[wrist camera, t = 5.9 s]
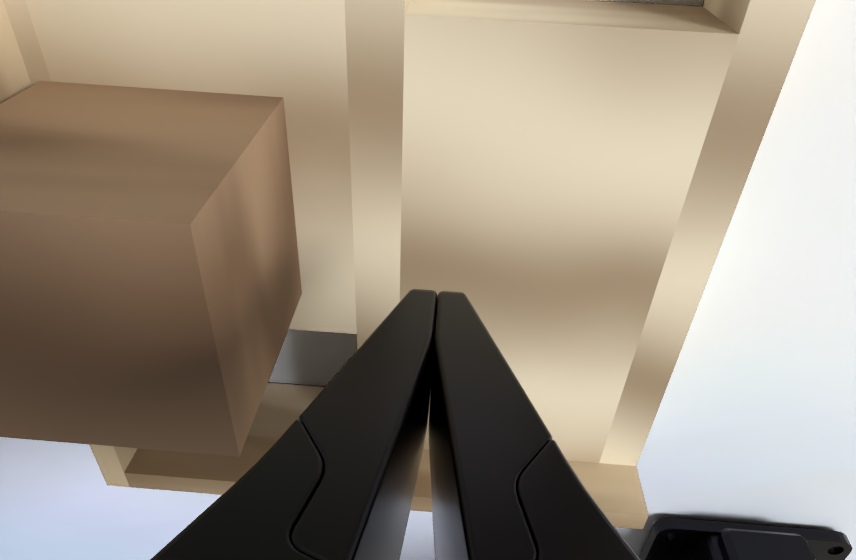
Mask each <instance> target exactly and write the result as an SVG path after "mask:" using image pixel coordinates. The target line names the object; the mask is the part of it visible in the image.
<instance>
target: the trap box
mask: <svg viewBox="0 0 856 560" xmlns="http://www.w3.org/2000/svg"><path fill="white" fill-rule="evenodd" d="M815 1H816V0H705V1H704V5H703V7H701V6H684V5H667V4H649V3H632V2H615V1H598V0H0V104H1V103H3V102H5V101H6V100H8V99H10V98H12V97H14V96H15V95H17V94H19V93H21V92H22V91H24V90H26V89H28V88H29V87H31V86H33V85H35V84H36V83H38V82H40V81H51V82H66V83H81V84H95V85H110V86H124V87H139V88H153V89H168V90H183V91H197V92H212V93H226V94H241V95H255V96H270V97H283V99H284V109H285V120H286V130H287V141H288V151H289V162H290V172H291V183H292V193H293V204H294V214H295V225H296V235H297V246H298V256H299V267H300V277H301V288H302V295H301V297H300V300H299V302H298V305H297V308H296V310H295V313H294V316H293V318H292V321H291V323H290V326H289V329H294V330H307V331H321V332H334V333H348V334H357V350H358V349H359V348H360V347H361V345H362V344H363V343H364V342H365V341H366V340H367V339H368V337H369V336H370V335H371V334H372V333H373V332H374V331H375V329H376V328H377V327H378V326H379V325H380V324H381V323H382V321H383V320H384V319H385V318H386V317H387V316H388V315H389V313H390V312H391V311H392V310H393V309H394V308H395V307H396V306H397V304H398V303H399V302H400V301H401V300H402V299H403V298H404V296H405V295H406V294H407V293H408V292H409V291H410V290H412V289H424V290H434V291H436V293H437V296H438V293H439V292H440V291H452V292H462V293H464V294H465V295H466V296H467V298H468V299H469V301H470V302H471V304H472V306H473V307H474V309H475V311H476V312H477V314H478V316H479V317H480V319H481V321H482V322H483V324H484V325H485V327H486V329H487V330H488V332H489V334H490V335H491V337H492V339H493V340H494V342H495V343H496V345H497V347H498V348H499V350H500V352H501V353H502V355H503V357H504V358H505V360H506V361H507V363H508V365H509V366H510V368H511V370H512V371H513V373H514V375H515V376H516V378H517V380H518V381H519V383H520V384H521V386H522V388H523V389H524V391H525V393H526V394H527V396H528V398H529V399H530V401H531V402H532V404H533V406H534V407H535V409H536V411H537V412H538V414H539V416H540V417H541V419H542V420H543V422H544V424H545V425H546V427H547V429H548V430H549V432H550V434H551V435H552V440H555V441H556V443H557V445H558V446H559V448H560V450H561V451H562V453H563V455H564V456H565V458H566V460H567V461H568V463H569V464H570V466H571V467H572V469H573V470H574V472H575V473H576V475H577V476H578V478H579V479H580V481H581V482H582V484H583V485H584V487H585V488H586V490H587V491H588V493H589V494H590V495H591V497H592V498H593V499H594V501H595V502H596V503H597V505H598V506H599V507H600V509H601V510H602V511H603V513H604V514H605V515H606V517H607V518H608V519H609V521H610V522H611V523H612V524H613V526H614V527H621V528H633V529H643V528H644V525H645V523H646V521H647V519H648V516H649V515H648V511H647V507H646V503H645V499H644V495H643V491H642V487H641V483H640V479H639V475H638V471H637V467H636V465H637V463H638V460H639V458H640V455H641V452H642V450H643V447H644V445H645V442H646V439H647V437H648V434H649V432H650V429H651V426H652V424H653V421H654V419H655V416H656V413H657V411H658V408H659V406H660V403H661V400H662V398H663V395H664V393H665V390H666V387H667V385H668V382H669V380H670V377H671V374H672V372H673V369H674V367H675V364H676V361H677V359H678V356H679V354H680V351H681V349H682V346H683V343H684V341H685V338H686V336H687V333H688V330H689V328H690V325H691V323H692V320H693V317H694V315H695V312H696V310H697V307H698V304H699V302H700V299H701V297H702V294H703V291H704V289H705V286H706V284H707V281H708V278H709V276H710V273H711V271H712V268H713V265H714V263H715V260H716V258H717V255H718V252H719V250H720V247H721V245H722V242H723V239H724V237H725V234H726V232H727V229H728V226H729V224H730V221H731V219H732V216H733V214H734V211H735V208H736V206H737V203H738V201H739V198H740V195H741V193H742V190H743V188H744V185H745V182H746V180H747V177H748V175H749V172H750V169H751V167H752V164H753V162H754V159H755V156H756V154H757V151H758V149H759V146H760V143H761V141H762V138H763V136H764V133H765V130H766V128H767V125H768V123H769V120H770V117H771V115H772V112H773V110H774V107H775V104H776V102H777V99H778V97H779V94H780V92H781V89H782V86H783V84H784V81H785V79H786V76H787V73H788V71H789V68H790V66H791V63H792V60H793V58H794V55H795V53H796V50H797V47H798V45H799V42H800V40H801V37H802V34H803V32H804V29H805V27H806V24H807V21H808V19H809V16H810V14H811V11H812V8H813V6H814V3H815ZM323 389H324V387H317V386H304V385H291V384H278V383H268V384H267V386H266V389H265V392H264V394H263V397H262V399H261V402H260V405H259V407H258V410H257V412H256V415H255V418H254V420H253V423H252V426H251V428H250V431H249V433H248V436H247V439H246V441H245V444H244V447H243V449H242V452H241V454H240V457H235V456H224V455H212V454H200V453H188V452H176V451H164V450H152V449H140V448H128V447H116V446H104V445H92V444H89V445H90V447H91V449H92V452H93V454H94V456H95V458H96V461H97V463H98V465H99V467H100V470H101V472H102V474H103V476H104V479H105V481H106V483H107V485H112V486H124V487H136V488H148V489H160V490H172V491H185V492H197V493H209V494H221V495H223V494H224V493H225V492H226V491H227V490H228V489H229V488H230V487H232V486H233V485H234V484H235V483H236V482H237V481H238V480H239V479H240V478H241V477H242V476H243V475H244V474H245V473H246V472H247V471H248V470H249V469H251V468H252V467H253V466H254V465H255V464H256V463H257V462H258V461H259V460H260V459H261V458H262V457H263V455H264V454H265V453H266V452H267V451H268V450H269V449H270V448H271V447H272V446H273V445H274V444H275V443H276V442H277V441H278V439H279V438H280V437H281V436H282V435H283V434H284V433H285V432H286V430H287V429H288V428H289V427H290V426H291V425H292V424H293V422H294V421H295V420H299V416H300V415H301V414H302V413H303V411H304V410H305V409H306V408H307V407H308V406H309V405H310V403H311V402H312V401H313V400H314V399H315V398H316V397H317V395H318V394H319V393H320V392H321V391H322V390H323ZM429 407H430V404H429ZM428 426H429V416H428V425H427V432H426V437H425V443H424V447H423V452H422V457H421V461H420V466H419V471H418V475H417V480H416V485H415V489H414V494H413V499H412V503H411V508H410V510H415V511H427V512H432V494H431V475H430V457H429V432H428Z"/></svg>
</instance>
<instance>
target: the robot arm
mask: <svg viewBox="0 0 856 560" xmlns="http://www.w3.org/2000/svg"><path fill="white" fill-rule="evenodd" d="M429 404H430V407H429ZM428 416H429V426H428V432H429V457H430V475H431V494H432V512H433V530H434V549H435V560H845V558H846V557H847V556H848V555H849V554H850V552H851V550H852V547H851V544H850V543H849V541H848V539H847V537H846V535H845V534H844V533H842V532H837V531H826V530H814V529H802V528H790V527H777V526H765V525H753V524H741V523H729V522H716V521H704V520H692V519H680V518H664V519H661V520H659V521H657V522H656V523H655V524H654V525H653V527H652V530H651V532H650V534H649V536H648V538H647V541H646V543H645V545H644V547H643V549H642V552H641V554H640V556H639V557H638V556H637V555H636V554H635V552H634V551H633V550H632V549H631V547H630V546H629V545H628V543H627V542H626V541H625V540H624V538H623V537H622V536H621V535H620V533H619V532H618V531H617V530H616V528H615V527H614V526H613V524H612V523H611V522H610V521H609V519H608V518H607V517H606V515H605V514H604V513H603V511H602V510H601V509H600V507H599V506H598V505H597V503H596V502H595V501H594V499H593V498H592V497H591V495H590V494H589V493H588V491H587V490H586V488H585V487H584V485H583V484H582V482H581V481H580V479H579V478H578V476H577V475H576V473H575V472H574V470H573V469H572V467H571V466H570V464H569V463H568V461H567V460H566V458H565V456H564V455H563V453H562V451H561V450H560V448H559V446H558V445H557V443H556V441H555V440H552V435H551V434H550V432H549V430H548V429H547V427H546V425H545V424H544V422H543V420H542V419H541V417H540V416H539V414H538V412H537V411H536V409H535V407H534V406H533V404H532V402H531V401H530V399H529V398H528V396H527V394H526V393H525V391H524V389H523V388H522V386H521V384H520V383H519V381H518V380H517V378H516V376H515V375H514V373H513V371H512V370H511V368H510V366H509V365H508V363H507V361H506V360H505V358H504V357H503V355H502V353H501V352H500V350H499V348H498V347H497V345H496V343H495V342H494V340H493V339H492V337H491V335H490V334H489V332H488V330H487V329H486V327H485V325H484V324H483V322H482V321H481V319H480V317H479V316H478V314H477V312H476V311H475V309H474V307H473V306H472V304H471V302H470V301H469V299H468V298H467V296H466V295H465V294H464V293H462V292H452V291H440V292H439V293H438V296H437V293H436V291H434V290H424V289H412V290H410V291H409V292H408V293H407V294H406V295H405V296H404V298H403V299H402V300H401V301H400V302H399V303H398V304H397V306H396V307H395V308H394V309H393V310H392V311H391V312H390V313H389V315H388V316H387V317H386V318H385V319H384V320H383V321H382V323H381V324H380V325H379V326H378V327H377V328H376V329H375V331H374V332H373V333H372V334H371V335H370V336H369V337H368V339H367V340H366V341H365V342H364V343H363V344H362V345H361V347H360V348H359V349H358V350H357V351H356V352H355V353H354V354H353V356H352V357H351V358H350V359H349V360H348V361H347V362H346V364H345V365H344V366H343V367H342V368H341V369H340V370H339V372H338V373H337V374H336V375H335V376H334V377H333V378H332V380H331V381H330V382H329V383H328V384H327V385H326V386H325V387H324V389H323V390H322V391H321V392H320V393H319V394H318V395H317V397H316V398H315V399H314V400H313V401H312V402H311V403H310V405H309V406H308V407H307V408H306V409H305V410H304V411H303V413H302V414H301V415H300V416H299V420H295V421H294V422H293V424H292V425H291V426H290V427H289V428H288V429H287V430H286V432H285V433H284V434H283V435H282V436H281V437H280V438H279V439H278V441H277V442H276V443H275V444H274V445H273V446H272V447H271V448H270V449H269V450H268V451H267V452H266V453H265V454H264V455H263V457H262V458H261V459H260V460H259V461H258V462H257V463H256V464H255V465H254V466H253V467H252V468H251V469H249V470H248V471H247V472H246V473H245V474H244V475H243V476H242V477H241V478H240V479H239V480H238V481H237V482H236V483H235V484H234V485H233V486H232V487H230V488H229V489H228V490H227V491H226V492H225V493H224V494H223V495H222V496H221V497H219V498H218V499H217V500H216V501H215V502H214V503H213V504H212V505H211V506H209V507H208V508H207V509H206V510H205V511H204V512H203V513H202V514H201V515H199V516H198V517H197V518H196V519H195V520H194V521H193V522H192V523H191V524H189V525H188V526H187V527H186V528H185V529H184V530H183V531H182V532H181V533H179V534H178V535H177V536H176V537H175V538H174V539H173V540H172V541H171V542H169V543H168V544H167V545H166V546H165V547H164V548H163V549H162V550H161V551H159V552H158V553H157V554H156V555H155V556H154V557H153V558H152V559H150V560H399V559H400V554H401V550H402V545H403V541H404V536H405V531H406V527H407V522H408V517H409V513H410V508H411V503H412V499H413V494H414V489H415V485H416V480H417V475H418V471H419V466H420V461H421V457H422V452H423V447H424V443H425V437H426V432H427V425H428Z"/></svg>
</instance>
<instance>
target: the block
mask: <svg viewBox="0 0 856 560" xmlns="http://www.w3.org/2000/svg"><path fill="white" fill-rule="evenodd" d="M301 295H302V288H301V277H300V267H299V256H298V246H297V235H296V225H295V214H294V204H293V193H292V183H291V172H290V162H289V151H288V141H287V130H286V120H285V109H284V99H283V97H270V96H255V95H241V94H226V93H212V92H197V91H183V90H168V89H153V88H139V87H124V86H110V85H95V84H81V83H66V82H51V81H40V82H38V83H36V84H35V85H33V86H31V87H29V88H28V89H26V90H24V91H22V92H21V93H19V94H17V95H15V96H14V97H12V98H10V99H8V100H6V101H5V102H3V103H1V104H0V437H9V438H21V439H33V440H45V441H57V442H69V443H81V444H92V445H104V446H116V447H128V448H140V449H152V450H164V451H176V452H188V453H200V454H212V455H224V456H235V457H240V454H241V452H242V449H243V447H244V444H245V441H246V439H247V436H248V433H249V431H250V428H251V426H252V423H253V420H254V418H255V415H256V412H257V410H258V407H259V405H260V402H261V399H262V397H263V394H264V392H265V389H266V386H267V384H268V381H269V378H270V376H271V373H272V371H273V368H274V365H275V363H276V360H277V357H278V355H279V352H280V350H281V347H282V344H283V342H284V339H285V337H286V334H287V331H288V329H289V326H290V323H291V321H292V318H293V316H294V313H295V310H296V308H297V305H298V302H299V300H300V297H301Z"/></svg>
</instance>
